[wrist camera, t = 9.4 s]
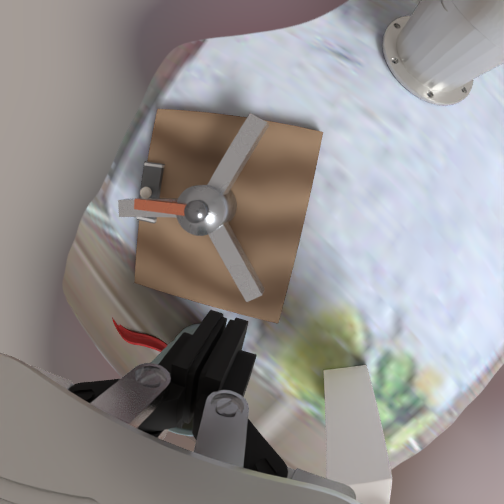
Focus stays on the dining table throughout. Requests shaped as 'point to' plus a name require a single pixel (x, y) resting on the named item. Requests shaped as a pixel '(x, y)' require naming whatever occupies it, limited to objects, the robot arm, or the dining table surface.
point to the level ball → (145, 192)
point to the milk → (355, 435)
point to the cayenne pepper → (140, 338)
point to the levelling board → (245, 219)
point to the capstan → (213, 208)
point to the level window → (152, 183)
